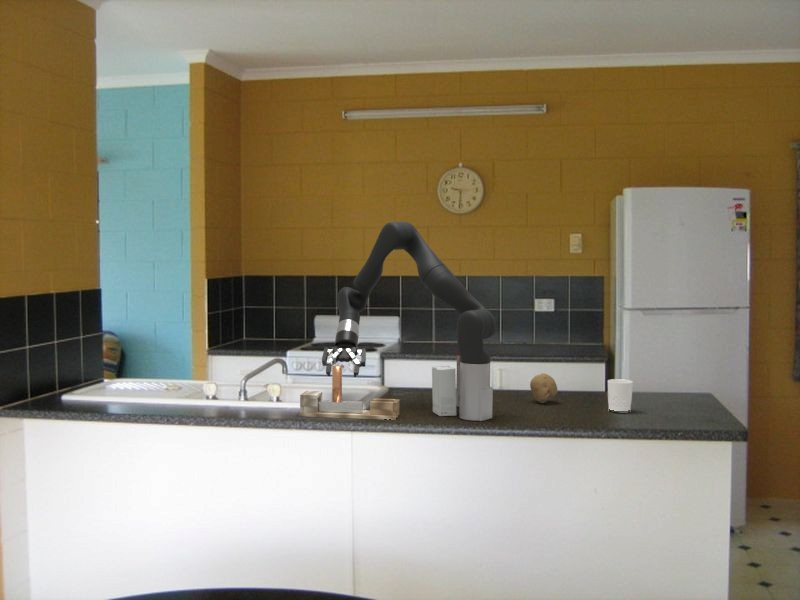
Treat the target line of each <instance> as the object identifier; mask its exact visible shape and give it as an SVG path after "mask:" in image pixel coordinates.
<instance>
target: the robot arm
mask: <svg viewBox="0 0 800 600" xmlns="http://www.w3.org/2000/svg"><path fill="white" fill-rule="evenodd" d="M397 250H399V251H401V250H403V251H405V252H406V253H407V254H408V255H409V256H410V257H411V258H412V259H413V261H414V262H415V264H416V267H417V273H418V277H419V280H420V281H421V283H422V284H423V285H424V287H425V288H426V289H427V290H428V291H429V293H430V294H432V295H433V296H434V298H436V299H438V300H439V301H441V302H443V303H444V304H446V305H448V306H449V307H451V308H452V309H453V310H455V311H456V312H458V314H459V318H458V320H457V325H456V326H457V327H456V335H457V336H456V337H457V338H456V339H457V343H456V344H457V350H458V353H459V355H460V407H459V411H458V412H459V418H460V419H462V420H465V421H473V422H474V421H477V422H478V421H479V422H482V421H487V420H491V419H493V396H494V395H493V394H494V393H493V391H494V390H493V386H492V387H491V353H490V352H488V351H486V350H485V349H484V340H487V339H490V338H492V337H493V336H494V335H495V333H496V331H497V322H496V318H495V317H494V314H493V313H491V311H489V309H487V308H486V307H485V306H484V305H483V304H482V303H481V302H480V301H478V300H477V299H476V298H475V296H473V295H472V293H470V291H468V289H467V288H466V287H465V286H464V284H462V282H461V281H460V280H459V279H458V278H457V277H456V276H455V275H454V273H453V272H452V271H451V270H450V269H449V268H448V266H447V265H446V264H445V263H444V262H443V261H442V260H441V259H440V258H439V257H438V255H437V254H436V253H435V252H434V251H433V250H432V248H431V247H430V246H429V245H428V244H427V242H426V241H425V240H424V238H423V237H422V235H421V234H420V232H419V231H418V229H417V228H416V227H415V226H414V225H413V224H412V223H411V222H408V221H390V222H388V223H385V224H384V226H383V227H382V228H381V230H380V232H379V234H378V236H377V239H376V241H375V243H374V245H373V246H372V249H371V251H370V253H369V255H368V258H367V260H366V261H365V263H364V264H363V266H362V268H361V269H360V271H359V272H358V273H357V275H356V277H355V278H354V279H353V282H352V285H353V287H354V288H355V289H353V287H349V286H344V287H342V288H340V290H339V291H338V293H337V296H336V304H337V308H338V313H339V314H338V315H339V319H338V323H337V324H338V325H337V327H336V328H337V329H336V332H335V340H334V347H333V348H332V349H331V348H329V347H327V346H326V347H324V349H323V352H322V358H321V364H322V366H323V367H325V374H326V376H328V377H331V375H332V374H331V372H332V366H335V365H336V364H338V363H349V362H351V364H352V365H354V366H353V377H354V378H357V376H359V373H360V368H361V367H363V368H365V367H366V361H367V360H366V359H367V352H366V348H365V347H363V348H361V349H358V344H359V343H358V342H359V336H360V320H361V314H360V312H363V311H365V308H366V307H367V304H368V300H369V297H370V294H371V292H372V290H373V289H374V287H375V286H376V285H377V283H379V280H380V279H381V277H382V275H383V270H384V262H385V260H386V259H387V257H389V255H390V254H391V252H393V251H397ZM331 354H332V355H331ZM357 355H359V357H360V358H361V360H359V359H358V358H357ZM329 357H330V358H329Z"/></svg>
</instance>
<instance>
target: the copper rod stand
mask: <svg viewBox="0 0 800 600" xmlns="http://www.w3.org/2000/svg"><path fill="white" fill-rule="evenodd" d="M331 372H332V374H331V375H332V376H331V379H332V381H331V384H332V385H331V387H332V388H331V389H332V390H331V400H330V399H329V400H325V399H322V400H318V411H320V412H346V413H362V412H363V410H364V401H360V400H359V401H358V400H356V401H354V400H353V401H352V400H343V366H342V365H333V366H331Z"/></svg>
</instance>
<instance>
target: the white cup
mask: <svg viewBox="0 0 800 600" xmlns="http://www.w3.org/2000/svg"><path fill="white" fill-rule="evenodd" d="M633 385H634V381H632V380H630V379H624V378H623V379H620V378H618V379H616V378H612V379H608V380H607V403H608V410H609V409H610V410H614V411H628V410H630V411H631V408H632V407H631V405H632V399H633V389H634V387H633Z"/></svg>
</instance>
